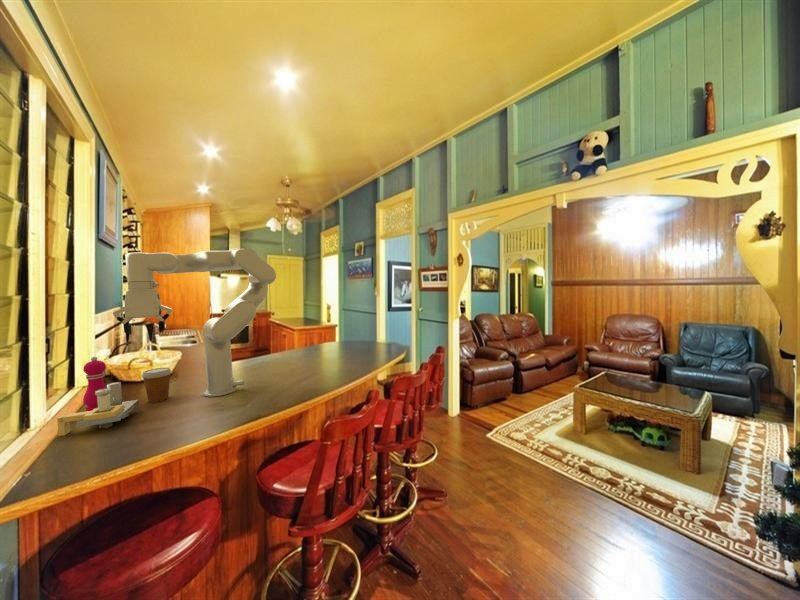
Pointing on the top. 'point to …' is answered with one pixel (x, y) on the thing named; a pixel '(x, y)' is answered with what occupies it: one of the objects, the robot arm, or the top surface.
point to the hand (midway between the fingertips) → (145, 333)
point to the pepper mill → (93, 382)
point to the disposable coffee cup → (157, 383)
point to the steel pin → (104, 403)
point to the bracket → (85, 418)
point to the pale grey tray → (115, 400)
